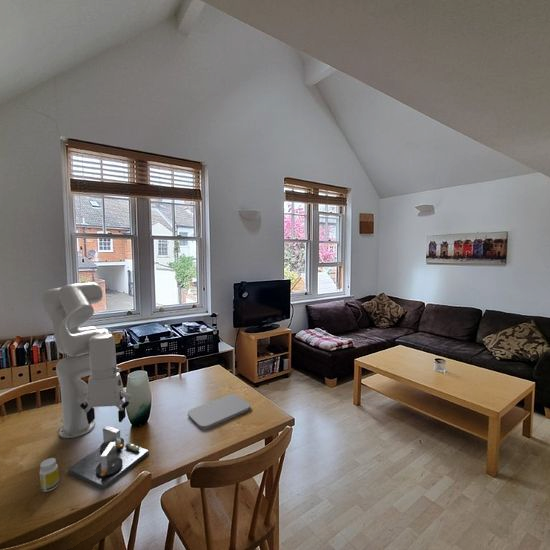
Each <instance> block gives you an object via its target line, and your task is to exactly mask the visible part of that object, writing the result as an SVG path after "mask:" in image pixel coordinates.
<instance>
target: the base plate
mask: <svg viewBox="0 0 550 550" xmlns="http://www.w3.org/2000/svg"><path fill="white" fill-rule="evenodd" d="M101 455H102V452H101V451H100V446H99V447H98V448H97V449H95V450H94V451H92V452H91V453H89V454H87V455H86V456H84V457H83V458H81V459H79V460H78V461H76V462H75V463H74V464H72V465H71V466H69V467H67V473H68V474H70V475H72V476H74V477H76V478H78V479H81V481H84V482H86V483H89V484H90V485H92V486H94V487H96V488H98V489H101V490H103V491H105V490H106V489H107V488H108V487H109V486H111V485H112V484H114V482H116V481H117V480H118V479H119V478H121V477H122V476H123V475H125V474H126V473H127V472H128V471H130V470H131V469H132V468H133V467H134V466H135V465H137V464H138V463H140V462H141V461H142V460H143V459H145V457H147V456H149V450H148V449H146V448H143V447H141V446H139V445H137V444H135V443H131V442H127V441H125V440H124V445H123V447H122V448H121V449H119V450H118V451H116V455H117V457H119V458H121V459H122V461H123V465H122V467H121V469H120V470H119V471H117V472H116V473H114V474H112V475H110V476H105V477H101V476H98V475H97V474H96V467H97V466H98V465H99V464H100V463H101Z"/></svg>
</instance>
